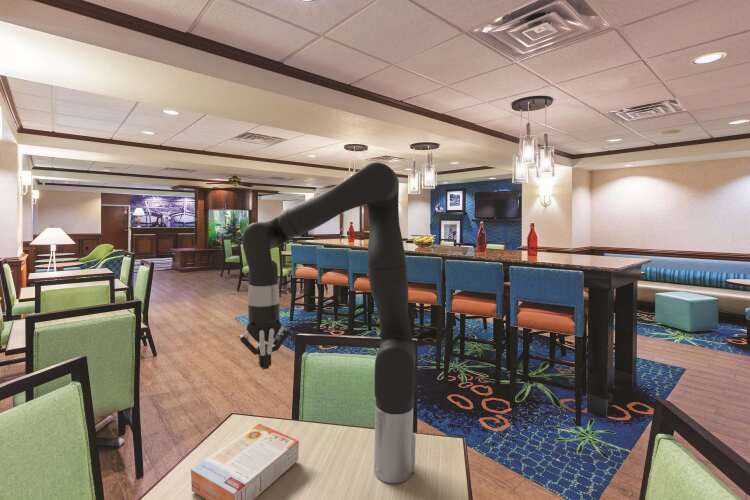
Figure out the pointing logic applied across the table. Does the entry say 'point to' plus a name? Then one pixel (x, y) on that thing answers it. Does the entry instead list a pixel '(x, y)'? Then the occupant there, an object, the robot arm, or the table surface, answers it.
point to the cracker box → (245, 465)
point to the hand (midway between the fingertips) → (265, 367)
